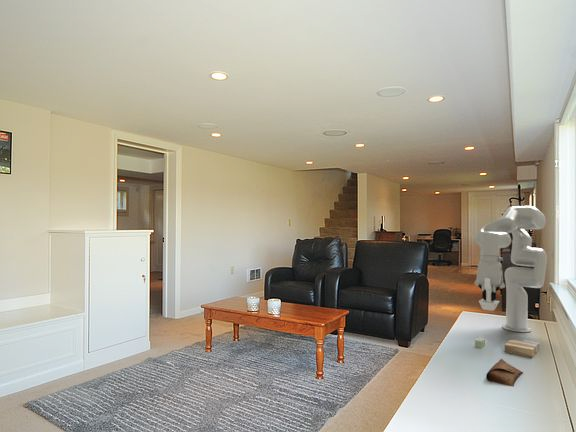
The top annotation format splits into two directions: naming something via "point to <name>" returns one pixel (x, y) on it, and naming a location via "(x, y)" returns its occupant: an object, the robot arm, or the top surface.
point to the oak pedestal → (521, 348)
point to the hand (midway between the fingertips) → (489, 299)
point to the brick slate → (533, 342)
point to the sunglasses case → (503, 373)
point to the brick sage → (480, 342)
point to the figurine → (488, 297)
